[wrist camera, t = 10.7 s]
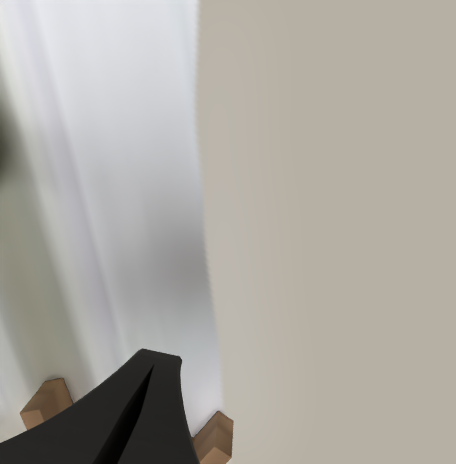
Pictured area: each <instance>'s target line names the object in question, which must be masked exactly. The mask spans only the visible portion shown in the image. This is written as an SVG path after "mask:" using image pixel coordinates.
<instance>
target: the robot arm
mask: <svg viewBox="0 0 456 464" xmlns="http://www.w3.org/2000/svg"><path fill="white" fill-rule="evenodd" d="M181 364H182V359H181V358H180V356H175V355H171V354H166V353H161V352H156V351H152V350H147V349H140V350H139V351H137V352H136V353H135V354H134V355H133V356H132V357H131V358H130V359H129V360H128V361H127V362H126V363H125V364H124V365H123V366H122V367H120V368H119V369H118V370H117V371H116V372H115V373H114V374H112V375H111V376H110V377H109V378H107V379H106V380H105V381H104V382H103V383H101V384H100V385H99V386H98V387H96V388H95V389H93V390H92V391H91V392H89V393H88V394H87V395H85V396H84V397H83V398H81V399H80V400H78V401H77V402H75V403H74V404H72V405H71V406H69V407H68V408H66V409H65V410H63V411H61V412H60V413H58V414H56V415H55V416H53V417H52V418H50V419H48V420H46V421H44V422H43V423H41V424H39V425H37V426H35V427H33V428H31V429H29V430H27V431H25V432H23V433H21V434H19V435H17V436H15V437H13V438H11V439H8V440H6V441H4V442H2V443H0V464H200V462H199V459H198V456H197V454H196V451H195V448H194V445H193V442H192V439H191V435H190V432H189V428H188V424H187V420H186V415H185V411H184V405H183V399H182V392H181V379H180V370H181Z"/></svg>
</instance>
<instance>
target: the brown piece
mask: <svg viewBox="0 0 456 464" xmlns="http://www.w3.org/2000/svg"><path fill="white" fill-rule="evenodd" d="M72 404H73V403H72V400H71V398H70V395H69V393H68V390H67V388H66V385H65V383H64V380H63V378H61V379H56V380H50V381H45V382H44V384H43V385H42V386H41V387H40V389H39V390H38V391H37V392H36V394H35V395H34V396H33V397H32V398H31V400H30V401H29V402H28V403H27V405H26V406H25V407H24V408H23V410H22V411H21V412H20V415H21V417H22V420H23V422H24V424H25V426H26V429H27V430H29V429H31V428H33V427H35V426H37V425H39V424H41V423H43V422H44V421H46V420H48V419H50V418H52V417H53V416H55V415H56V414H58V413H60V412H61V411H63V410H65V409H66V408H68V407H69V406H71V405H72ZM232 438H233V420H231V419H229V418H228V417H227V416H225V415H224V414H222V413H221V412H219V411H218V412H217V413H216V414H215V415H214V416H213V417H212V418H211V419H210V421H209V422H208V423H207V424H206V425H205V426H204V427H203V428H202V430H201V431H200V432H199V433H198V434H197V435H196V436H195V438H191V439H192V442H193V445H194V448H195V451H196V454H197V456H198V459H199V462H200V464H226V463H227V462H228V461H229V460H230V459H231V457H232Z"/></svg>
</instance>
